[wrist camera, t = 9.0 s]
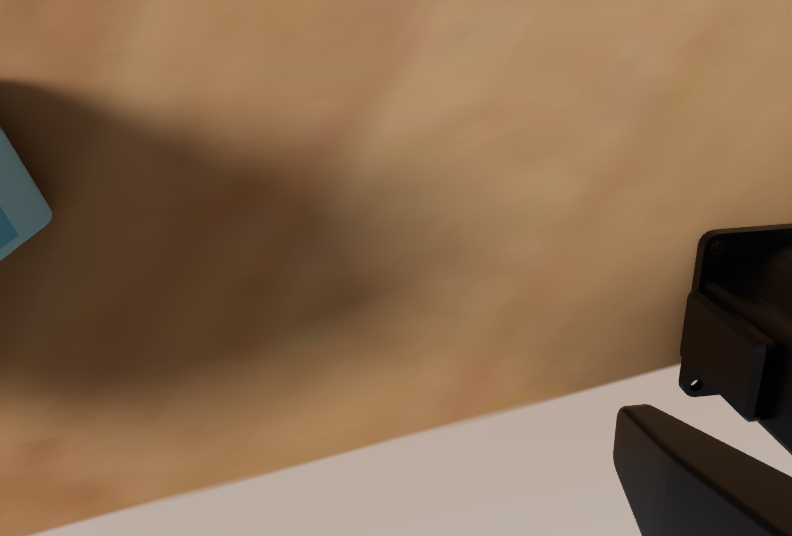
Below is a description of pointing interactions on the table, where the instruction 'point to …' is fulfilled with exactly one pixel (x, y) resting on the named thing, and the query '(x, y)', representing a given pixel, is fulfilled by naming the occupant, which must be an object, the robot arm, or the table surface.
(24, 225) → the data package
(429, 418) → the table surface
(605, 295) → the table surface
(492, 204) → the table surface
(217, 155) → the table surface
